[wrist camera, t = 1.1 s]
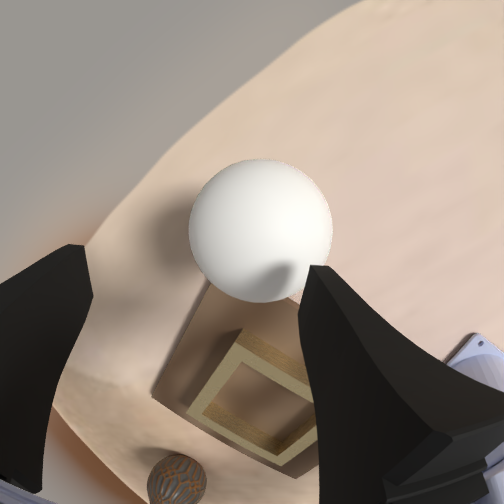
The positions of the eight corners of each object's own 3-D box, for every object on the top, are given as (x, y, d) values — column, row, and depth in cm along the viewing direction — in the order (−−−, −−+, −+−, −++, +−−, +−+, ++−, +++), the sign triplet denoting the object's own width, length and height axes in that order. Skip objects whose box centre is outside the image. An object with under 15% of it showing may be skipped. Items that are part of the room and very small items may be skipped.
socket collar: (353, 393, 23) (352, 410, 22) (285, 451, 27) (281, 466, 26) (243, 328, 24) (234, 342, 22) (194, 399, 28) (185, 412, 27)
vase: (188, 444, 33) (154, 498, 25) (224, 477, 33) (198, 530, 25) (154, 449, 35) (121, 495, 27) (188, 480, 36) (161, 526, 28)
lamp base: (417, 377, 22) (418, 383, 21) (297, 473, 29) (295, 479, 29) (226, 258, 24) (222, 261, 23) (155, 392, 31) (151, 396, 30)
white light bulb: (248, 244, 23) (170, 318, 13) (245, 156, 21) (154, 165, 11) (336, 249, 21) (322, 337, 11) (338, 157, 20) (329, 160, 9)
